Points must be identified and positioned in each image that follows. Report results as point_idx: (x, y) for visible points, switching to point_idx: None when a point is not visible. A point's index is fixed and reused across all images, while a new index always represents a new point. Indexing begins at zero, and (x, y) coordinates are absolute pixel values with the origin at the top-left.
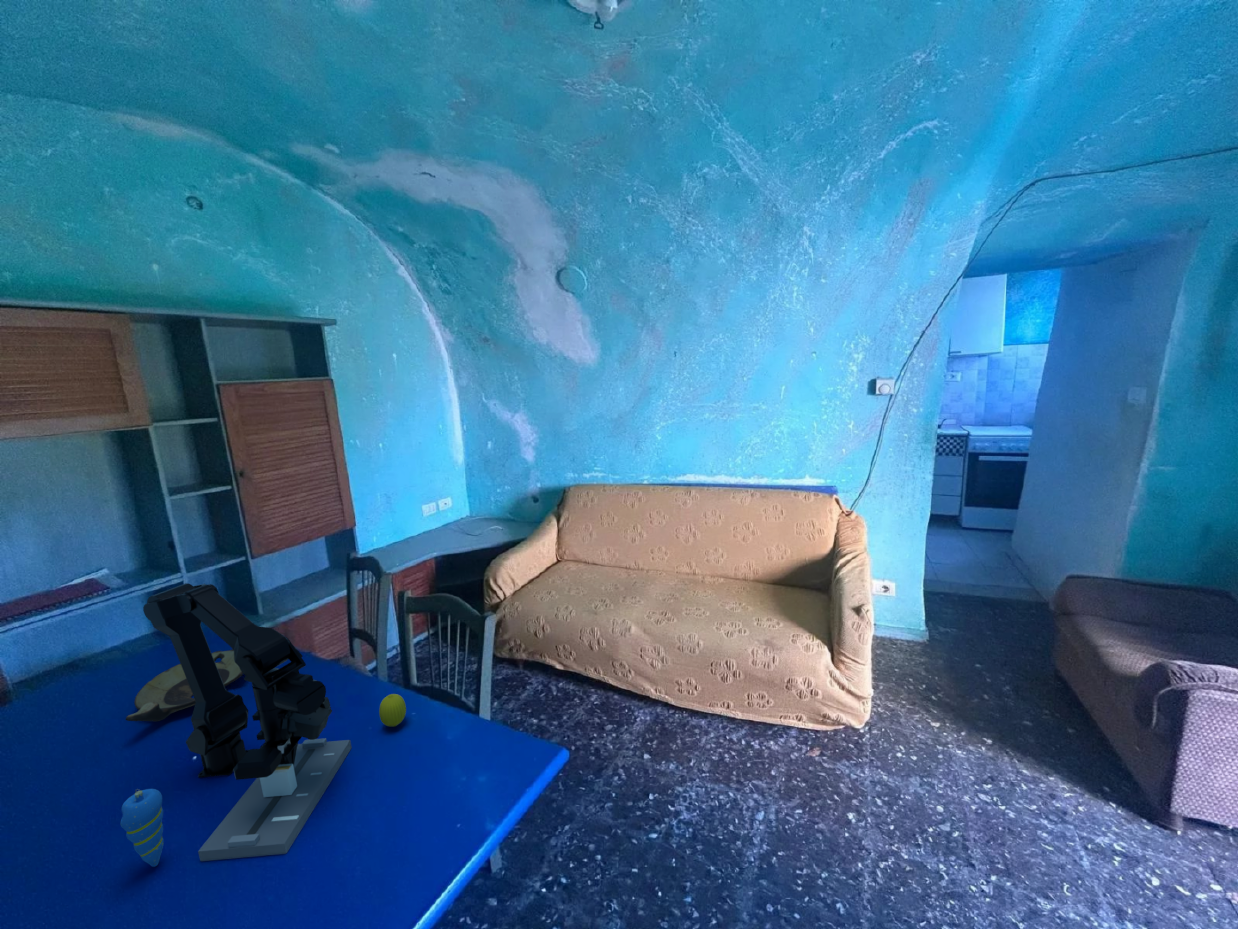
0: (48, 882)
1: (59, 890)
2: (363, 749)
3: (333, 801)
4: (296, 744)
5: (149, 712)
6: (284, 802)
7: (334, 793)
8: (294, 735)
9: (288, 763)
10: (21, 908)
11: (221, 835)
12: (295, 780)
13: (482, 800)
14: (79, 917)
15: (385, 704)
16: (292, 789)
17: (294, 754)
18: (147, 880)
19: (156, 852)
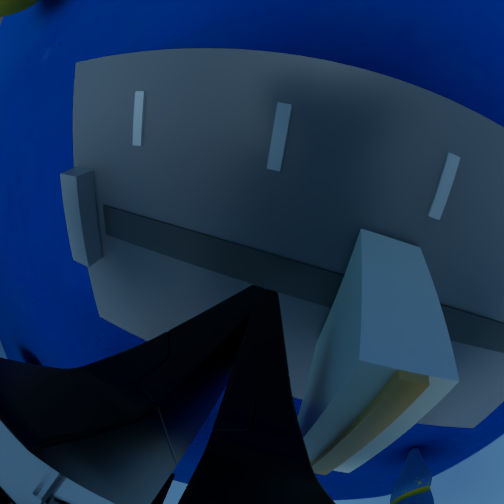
0: (350, 492)
1: (373, 488)
2: (126, 8)
3: (449, 34)
4: (116, 380)
5: None
6: (449, 269)
7: (397, 32)
8: (52, 472)
9: (286, 366)
10: (377, 495)
11: (462, 409)
12: (367, 253)
13: None
14: (444, 470)
15: None
16: (408, 252)
17: (192, 342)
18: (441, 446)
19: (430, 478)
